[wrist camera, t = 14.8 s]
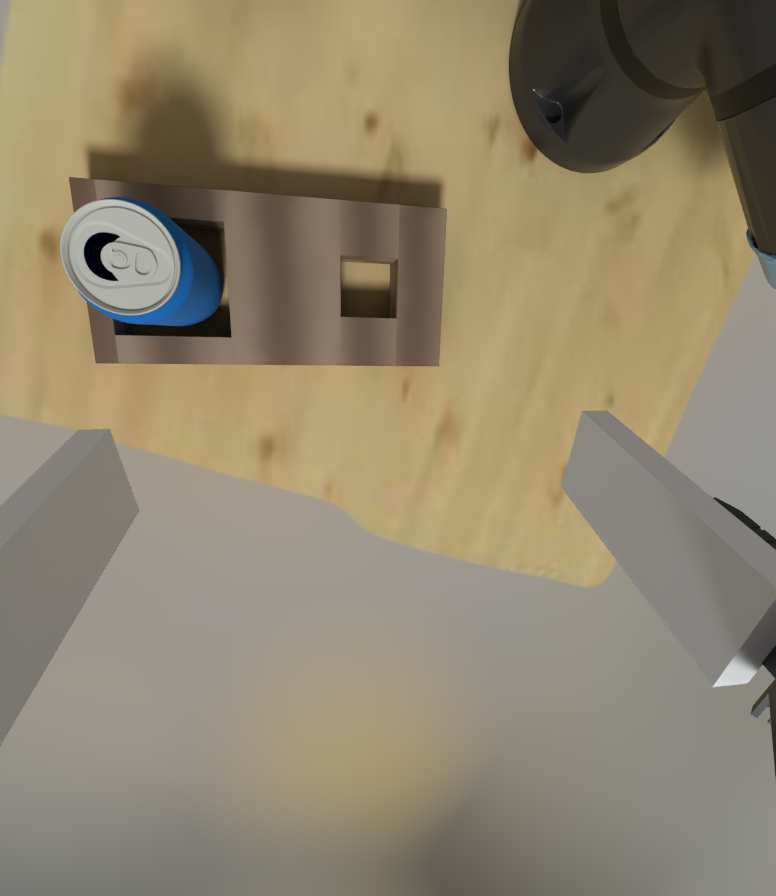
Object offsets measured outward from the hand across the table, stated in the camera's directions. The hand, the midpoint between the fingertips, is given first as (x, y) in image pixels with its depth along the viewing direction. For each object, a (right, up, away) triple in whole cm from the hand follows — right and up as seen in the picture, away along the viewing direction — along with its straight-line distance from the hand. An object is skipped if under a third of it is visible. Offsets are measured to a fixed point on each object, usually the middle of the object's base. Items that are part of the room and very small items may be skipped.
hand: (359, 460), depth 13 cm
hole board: (-8, +13, +23) cm, 28 cm away
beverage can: (-15, +13, +22) cm, 30 cm away
